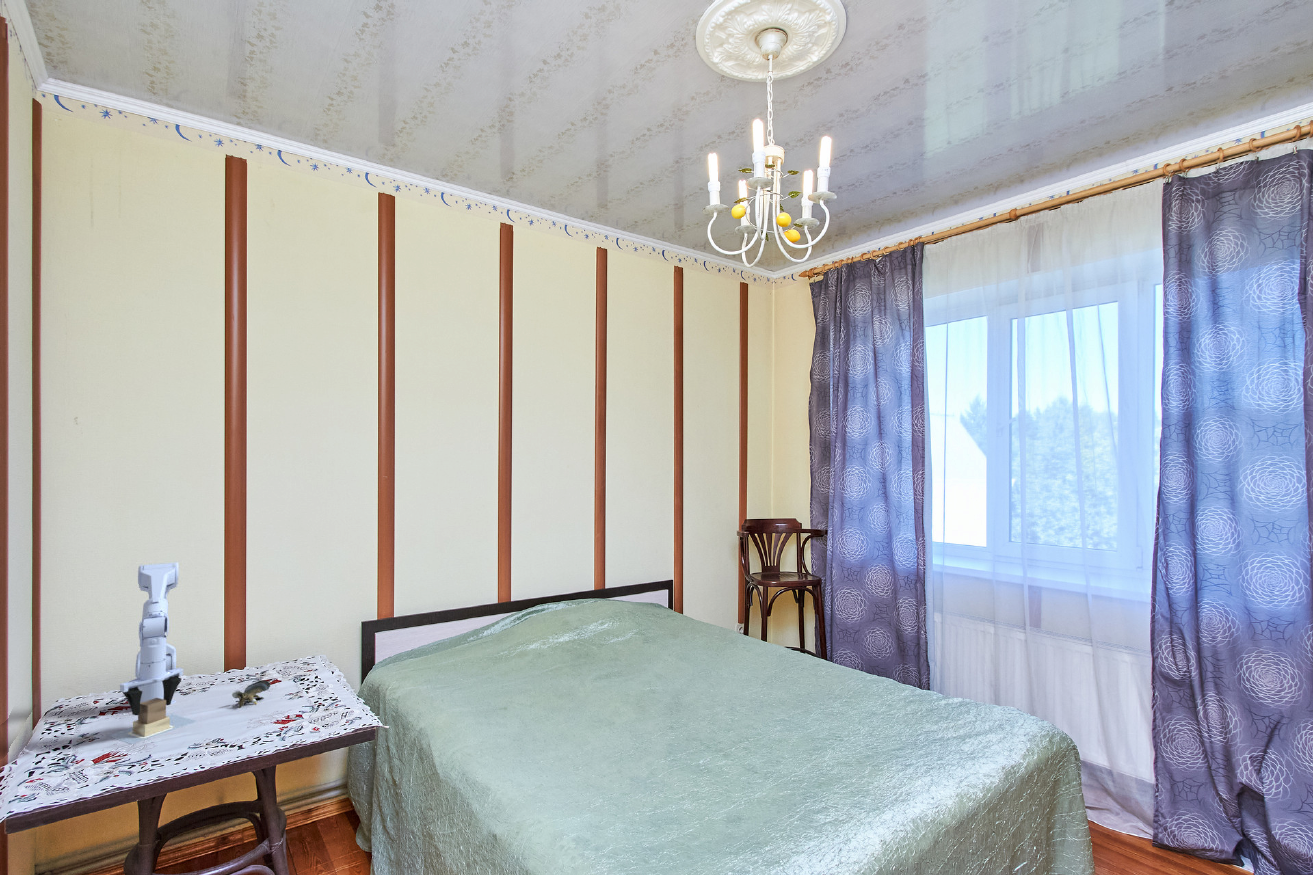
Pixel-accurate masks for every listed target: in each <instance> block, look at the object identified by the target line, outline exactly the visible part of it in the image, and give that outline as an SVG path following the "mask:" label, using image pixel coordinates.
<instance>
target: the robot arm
mask: <svg viewBox="0 0 1313 875" xmlns="http://www.w3.org/2000/svg"><path fill="white" fill-rule="evenodd" d="M179 565H180V564H179V562H178V561H174V562H166V563H153V564H152V563H151V564H150V563H149V564H140V565H139V566H138V571H137V573H138V574H137V583H138V588H139V590H140V591H142V592H146V593H147V594H148V599H147V600H145V602H144V603H143V607H142V616H141V617H142V618H141V621H140V620H139V623H138V639H139V647H140V650H139V651H138V653H137V654H136V660H135V672H134V674H135V678H134V679H131V680H129V681H127V682H123V683H120V684H119V692H121V693H122V694H123V695H124V697H125V698H126V700H127V702H128V703H129V707H130V710H131V714H132V715H133V716H138V715H139V714H140V703H141V702H144V701H148V700H151V699H154V698H160V699H164V700H166V707H167V706H170V705H173V704H176V703H177V701H176V700H174V699H173V697H174V695H175V692H176V690H177V688H178V687H179V685H180V683H181V682H182V678H181V677H182V676H184V669H183V668H180V667H178V668H177V649H176V647H175V646H174V645H171V644H170V643H167V638H168V637H169V633H170V632H169V631H170V617H169V602H168V594H169V592H170V590H173V589H175V588H177V587H178V583H179V575H180V574H179V573H180V572H179V570H180V569H179V568H180V566H179Z"/></svg>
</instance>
